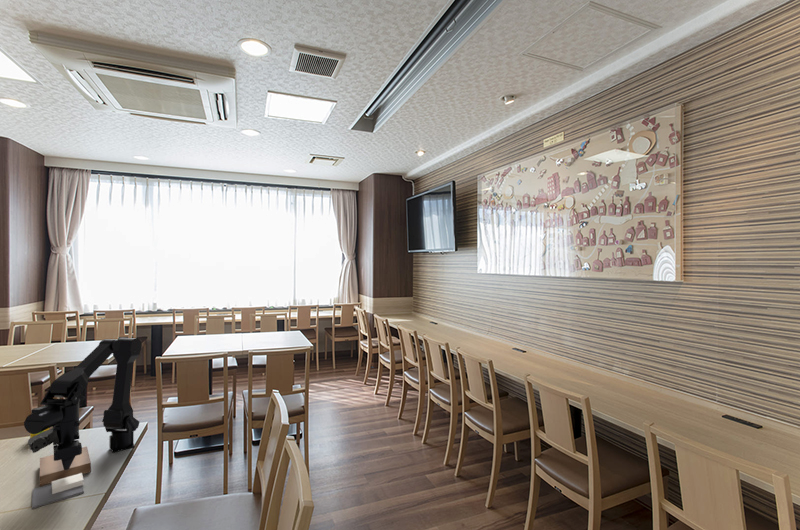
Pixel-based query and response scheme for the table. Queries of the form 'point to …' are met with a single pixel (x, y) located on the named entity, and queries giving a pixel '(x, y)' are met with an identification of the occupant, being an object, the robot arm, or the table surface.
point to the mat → (52, 495)
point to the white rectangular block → (67, 483)
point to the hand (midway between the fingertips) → (66, 469)
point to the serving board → (55, 469)
